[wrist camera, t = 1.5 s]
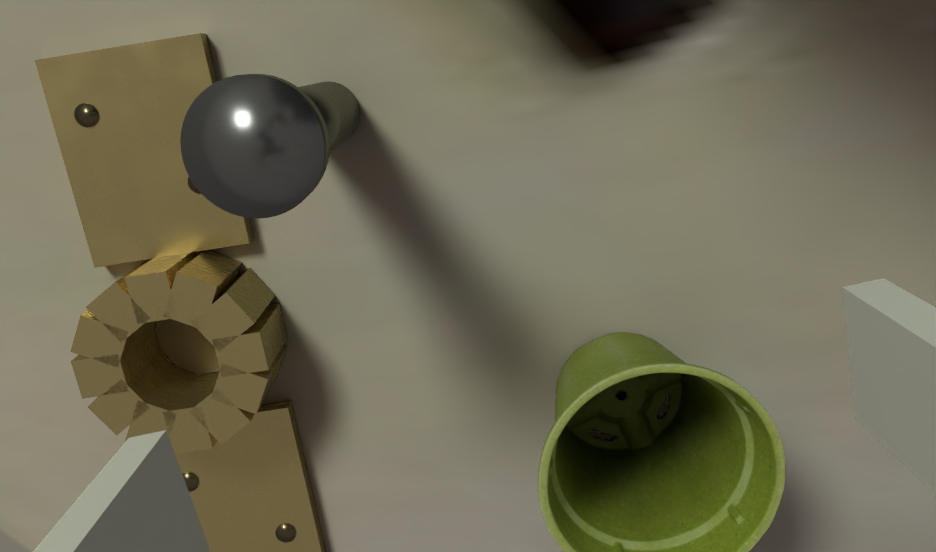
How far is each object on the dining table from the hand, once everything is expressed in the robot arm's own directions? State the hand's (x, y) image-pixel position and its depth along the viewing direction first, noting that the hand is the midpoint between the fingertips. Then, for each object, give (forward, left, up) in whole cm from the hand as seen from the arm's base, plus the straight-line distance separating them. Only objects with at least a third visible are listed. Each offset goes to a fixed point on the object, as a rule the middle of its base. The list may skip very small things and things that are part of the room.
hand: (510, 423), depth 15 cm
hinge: (+4, -14, -22) cm, 26 cm away
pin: (-5, -6, -22) cm, 23 cm away
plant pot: (+10, +5, -22) cm, 24 cm away
